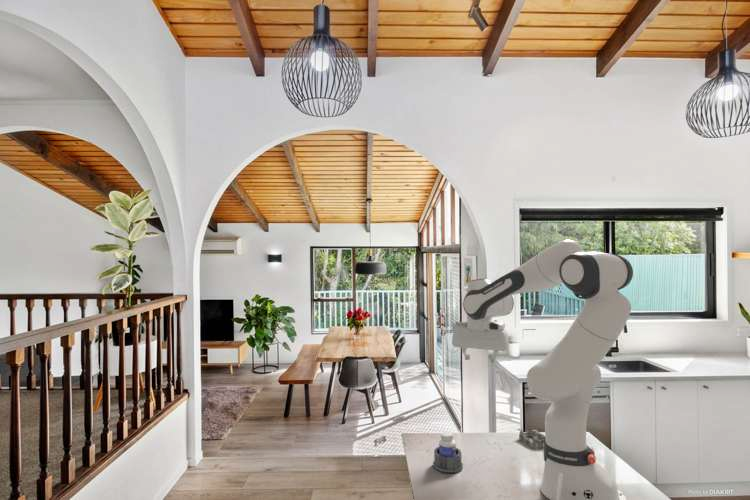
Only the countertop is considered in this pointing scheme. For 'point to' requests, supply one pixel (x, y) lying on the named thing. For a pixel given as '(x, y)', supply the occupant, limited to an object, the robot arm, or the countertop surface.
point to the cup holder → (447, 462)
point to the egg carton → (536, 438)
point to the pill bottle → (447, 444)
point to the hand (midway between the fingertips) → (480, 361)
